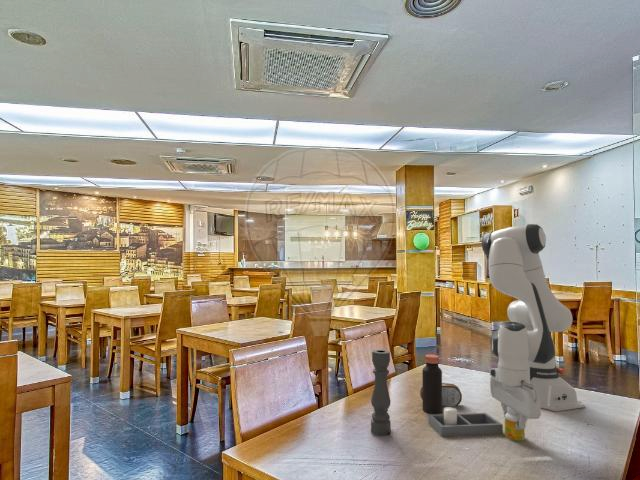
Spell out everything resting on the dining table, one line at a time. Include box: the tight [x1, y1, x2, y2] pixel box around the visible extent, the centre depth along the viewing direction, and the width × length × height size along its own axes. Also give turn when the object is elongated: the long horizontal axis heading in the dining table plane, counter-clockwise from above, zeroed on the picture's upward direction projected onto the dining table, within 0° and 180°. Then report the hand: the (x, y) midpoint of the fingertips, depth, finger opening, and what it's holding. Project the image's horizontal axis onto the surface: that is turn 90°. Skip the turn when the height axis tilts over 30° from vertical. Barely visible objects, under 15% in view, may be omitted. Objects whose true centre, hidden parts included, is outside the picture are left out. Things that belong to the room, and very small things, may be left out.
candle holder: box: [370, 349, 392, 437], centre depth 128 cm, size 6×6×25 cm
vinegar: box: [421, 354, 443, 415], centre depth 145 cm, size 7×7×20 cm
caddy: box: [427, 412, 504, 437], centre depth 129 cm, size 20×10×4 cm, turn 98°
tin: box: [419, 382, 463, 407], centre depth 152 cm, size 15×3×8 cm, turn 84°
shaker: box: [443, 406, 458, 426], centre depth 129 cm, size 4×4×6 cm
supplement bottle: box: [504, 406, 526, 442], centre depth 123 cm, size 5×5×10 cm
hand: (514, 422), depth 123 cm, fingers closed on supplement bottle, 5 cm apart
